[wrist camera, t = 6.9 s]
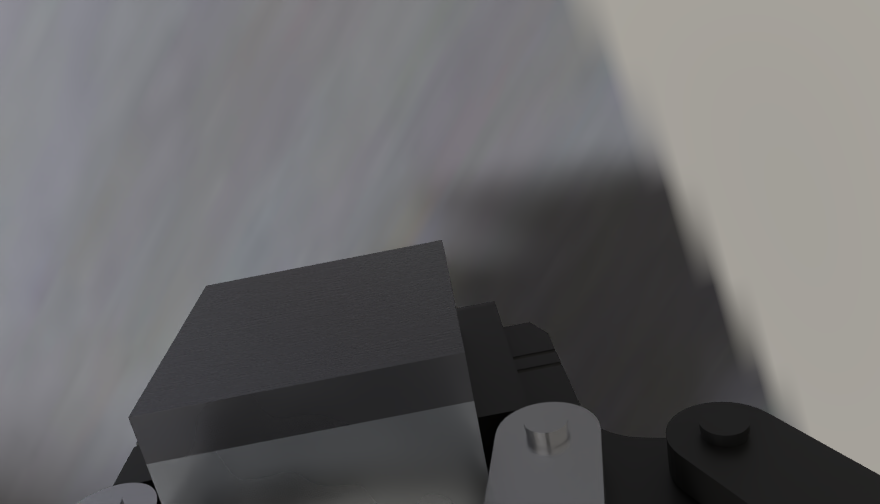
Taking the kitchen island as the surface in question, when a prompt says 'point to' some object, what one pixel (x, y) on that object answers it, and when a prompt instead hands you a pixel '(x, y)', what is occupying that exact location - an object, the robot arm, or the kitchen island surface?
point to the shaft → (318, 390)
